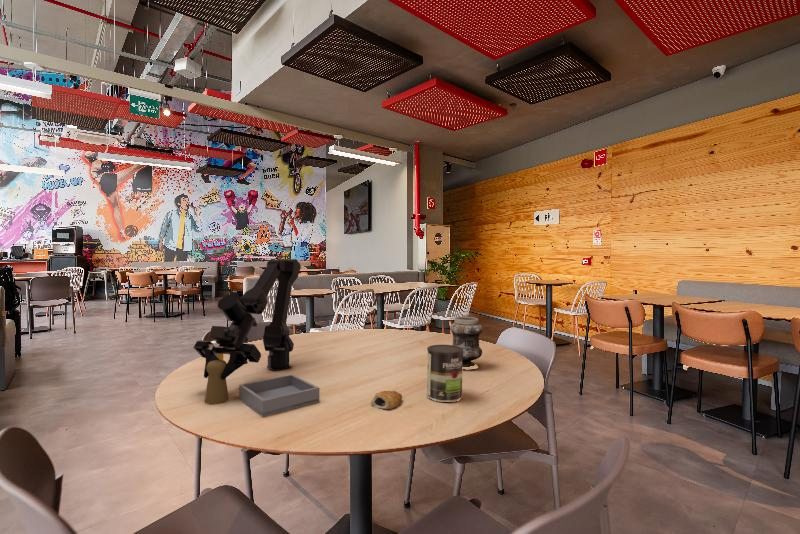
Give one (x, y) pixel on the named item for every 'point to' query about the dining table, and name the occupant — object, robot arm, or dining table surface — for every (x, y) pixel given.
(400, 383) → the dining table surface
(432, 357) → the coffee can
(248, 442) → the dining table surface
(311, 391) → the grey bin
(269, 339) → the robot arm
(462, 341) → the apothecary jar
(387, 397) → the pastry
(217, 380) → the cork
